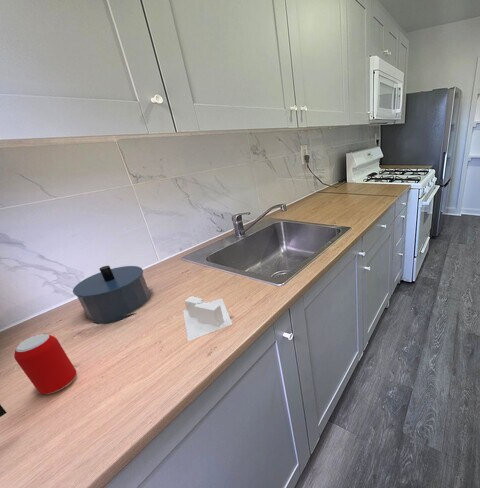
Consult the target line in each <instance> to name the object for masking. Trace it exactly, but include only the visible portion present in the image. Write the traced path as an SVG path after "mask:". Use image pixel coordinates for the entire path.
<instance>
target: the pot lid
mask: <svg viewBox="0 0 480 488" xmlns="http://www.w3.org/2000/svg"><path fill="white" fill-rule="evenodd" d="M142 274H143V275H144V270H143V268H142V267H140V266H137V265H126V266H125V265H124V266H117V267H113V268H111V266H110V265H103V266H101V267H99V272H98V273H95V274H92V275H91V276H89V277H86V278H84V279H83V280H81V281H80V282H78V283H77V284H76V285H75V286H74V287H73V288H72V293H73V295H74V296H75V297H77V296H78V297H94V296H100V295H104V294H108V293H111V292H114V291H117V290H119V289H122V288H124V287H126V286H128V285H130V284H132V283H133V282H135V281H136V280H138V279H139V278H140V277H141V276H142ZM78 297H77V298H78Z"/></svg>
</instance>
